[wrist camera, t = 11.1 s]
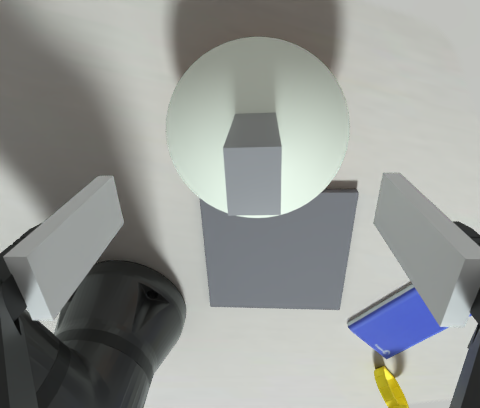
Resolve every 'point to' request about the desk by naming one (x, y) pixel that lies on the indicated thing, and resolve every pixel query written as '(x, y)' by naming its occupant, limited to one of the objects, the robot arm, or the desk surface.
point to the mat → (280, 254)
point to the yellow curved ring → (389, 389)
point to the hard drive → (396, 323)
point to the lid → (257, 127)
